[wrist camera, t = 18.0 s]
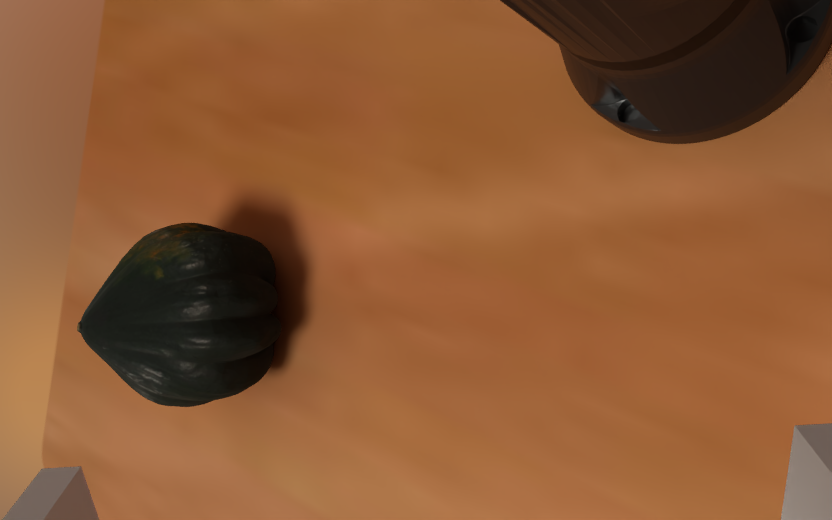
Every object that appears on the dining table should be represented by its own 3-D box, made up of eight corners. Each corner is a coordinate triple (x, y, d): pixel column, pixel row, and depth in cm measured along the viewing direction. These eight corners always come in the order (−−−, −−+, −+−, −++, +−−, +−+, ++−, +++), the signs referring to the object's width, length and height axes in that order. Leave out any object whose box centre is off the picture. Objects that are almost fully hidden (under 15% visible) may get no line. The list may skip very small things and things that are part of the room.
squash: (297, 251, 51) (82, 214, 48) (263, 444, 53) (51, 420, 50) (294, 234, 65) (127, 205, 62) (267, 388, 67) (102, 366, 64)
